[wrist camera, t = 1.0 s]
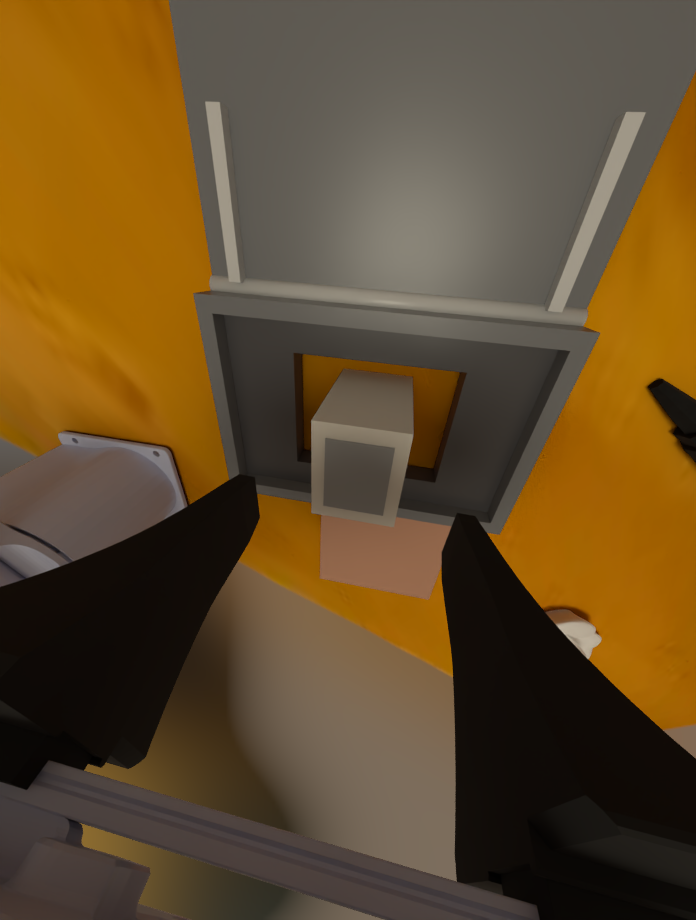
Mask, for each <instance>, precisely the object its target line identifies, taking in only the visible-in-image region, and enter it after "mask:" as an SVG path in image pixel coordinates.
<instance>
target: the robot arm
mask: <svg viewBox="0 0 696 920" xmlns="http://www.w3.org/2000/svg"><path fill="white" fill-rule="evenodd" d="M58 437H59V439H60V441H61V443H62V445H60V446H58V447H56V448H54V449H53V450H51V451H49V452H47V453H45V454H43V455H41V456H39V457H37V458H35V459H34V460H32V461H30V462H28V463H26V464H24V465H22V466H20V467H18V468H17V469H14V470H13V471H11V472H9V473H7V474H5V475H3V476H1V477H0V920H191V919H187V918H184V917H181V916H177V915H174V914H170V913H167V912H164V911H161V910H158V909H154V908H151V907H148V906H144V905H141V904H138V902H139V899H140V897H141V894H142V892H143V890H144V887H145V885H146V883H147V880H148V878H149V876H150V868H149V867H146V866H143V865H140V864H138V863H135V862H132V861H129V860H126V859H123V858H120V857H117V856H114V855H111V854H107V853H104V852H101V851H97V850H93V849H90V848H86V847H84V846H83V845H82V843H81V839H82V835H83V828H82V825H81V824H80V823H82V824H85V825H88V826H91V827H95V828H98V829H101V830H104V831H107V832H111V833H113V834H117V835H120V836H123V837H126V838H129V839H132V840H135V841H139V842H142V843H145V844H148V845H151V846H155V847H157V848H161V849H164V850H167V851H170V852H173V853H176V854H180V855H183V856H186V857H189V858H192V859H196V860H198V861H202V862H205V863H208V864H211V865H214V866H217V867H221V868H224V869H227V870H230V871H234V872H236V873H240V874H243V875H246V876H249V877H252V878H255V879H258V880H262V881H265V882H268V883H271V884H274V885H278V886H280V887H283V888H287V889H290V890H293V891H296V892H300V893H302V894H306V895H309V896H312V897H315V898H318V899H321V900H324V901H328V902H331V903H334V904H337V905H340V906H343V907H347V908H350V909H353V910H356V911H359V912H362V913H365V914H369V915H372V916H375V917H378V918H381V919H385V920H696V759H695V758H694V757H693V756H692V755H691V754H690V753H688V752H687V751H686V750H685V749H684V748H682V747H681V746H680V745H679V744H678V743H676V742H675V741H674V740H673V739H672V738H671V737H669V735H667V734H666V733H665V732H664V731H663V730H662V729H661V728H660V727H659V726H657V725H656V724H655V723H654V722H653V721H652V720H651V719H650V718H649V717H648V716H646V715H645V714H644V713H643V712H642V711H641V710H640V709H639V708H638V707H637V706H636V705H634V704H633V703H632V702H631V701H630V700H629V699H628V698H627V697H626V696H625V695H624V694H623V693H622V692H621V691H620V690H619V689H617V688H616V687H615V686H614V685H613V684H612V683H611V682H610V681H609V680H608V679H607V678H606V677H605V676H604V675H603V674H602V673H601V672H600V671H599V670H598V669H597V668H596V667H595V666H594V665H593V664H592V663H591V662H590V661H589V660H588V659H587V658H586V657H585V656H584V655H583V654H582V653H581V652H580V650H579V649H578V648H577V647H576V646H575V645H574V644H573V643H572V642H571V641H570V640H569V639H568V638H567V637H566V635H565V634H564V633H563V632H562V631H561V630H560V629H559V628H558V626H557V625H556V624H555V623H554V622H553V621H552V620H551V619H550V618H549V616H548V615H547V614H546V613H545V612H544V610H543V609H542V608H541V607H540V606H539V604H538V603H537V602H536V601H535V599H534V598H533V597H532V596H531V594H530V593H529V592H528V591H527V589H526V588H525V587H524V586H523V584H522V583H521V582H520V580H519V579H518V578H517V576H516V575H515V573H514V572H513V571H512V569H511V568H510V566H509V565H508V564H507V562H506V561H505V559H504V558H503V557H502V555H501V554H500V552H499V551H498V549H497V548H496V546H495V545H494V543H493V542H492V540H491V539H490V537H489V536H488V534H487V533H486V531H485V530H484V528H483V527H482V525H481V524H480V522H479V521H478V519H477V518H476V516H472V515H467V514H461V513H457V514H456V516H455V519H454V521H453V524H452V527H451V529H450V532H449V534H448V537H447V540H446V542H445V545H444V547H443V550H442V586H443V593H444V601H445V608H446V615H447V623H448V630H449V637H450V644H451V653H452V663H453V682H454V683H453V684H454V710H455V754H456V756H455V757H456V758H455V760H456V813H455V816H456V817H455V819H456V821H455V827H456V828H455V862H456V875H457V882H456V881H453V880H449V879H446V878H443V877H439V876H436V875H432V874H429V873H426V872H422V871H419V870H416V869H412V868H409V867H405V866H402V865H399V864H396V863H392V862H389V861H385V860H382V859H379V858H375V857H372V856H369V855H365V854H362V853H358V852H355V851H352V850H349V849H345V848H342V847H338V846H335V845H332V844H328V843H325V842H321V841H318V840H315V839H312V838H308V837H305V836H301V835H298V834H295V833H291V832H288V831H284V830H281V829H278V828H275V827H271V826H268V825H264V824H261V823H258V822H254V821H251V820H248V819H244V818H241V817H238V816H234V815H231V814H228V813H224V812H221V811H218V810H214V809H211V808H207V807H204V806H201V805H197V804H194V803H191V802H187V801H183V800H181V799H177V798H174V797H171V796H167V795H164V794H160V793H157V792H153V791H150V790H147V789H144V788H140V787H137V786H133V785H130V784H127V783H123V782H120V781H117V780H113V779H110V778H106V777H103V776H100V775H96V774H93V773H90V772H87V771H84V769H85V768H86V766H87V764H90V765H94V766H98V767H102V766H103V765H104V764H105V763H106V762H107V763H110V764H113V765H117V766H120V767H124V768H127V769H129V768H131V767H133V766H135V765H136V764H138V763H139V762H140V761H142V760H143V759H144V758H145V757H146V755H147V752H148V749H149V747H150V744H151V741H152V739H153V736H154V734H155V731H156V729H157V726H158V724H159V721H160V719H161V716H162V714H163V711H164V709H165V706H166V704H167V701H168V699H169V697H170V694H171V692H172V690H173V687H174V685H175V683H176V680H177V678H178V676H179V673H180V671H181V669H182V666H183V664H184V662H185V660H186V658H187V655H188V653H189V651H190V649H191V646H192V644H193V642H194V640H195V638H196V636H197V634H198V632H199V629H200V627H201V625H202V623H203V621H204V619H205V617H206V615H207V613H208V611H209V609H210V607H211V605H212V603H213V602H214V600H215V598H216V596H217V594H218V593H219V591H220V589H221V588H222V586H223V585H224V583H225V581H226V580H227V578H228V576H229V574H230V573H231V571H232V570H233V568H234V567H235V565H236V563H237V562H238V560H239V558H240V557H241V555H242V553H243V552H244V550H245V548H246V546H247V545H248V543H249V541H250V539H251V537H252V534H253V532H254V530H255V528H256V525H257V523H258V521H259V518H260V515H259V507H258V498H257V490H256V481H255V477H252V476H247V475H241V474H239V475H237V476H235V477H233V478H232V479H230V480H229V481H227V482H225V483H224V484H222V485H221V486H219V487H218V488H216V489H214V490H213V491H211V492H210V493H208V494H206V495H205V496H203V497H202V498H200V499H198V500H197V501H195V502H194V503H192V504H190V505H189V506H188V505H187V502H186V499H185V496H184V493H183V489H182V486H181V483H180V480H179V477H178V473H177V470H176V467H175V464H174V460H173V457H172V454H171V452H170V450H169V449H167V448H165V447H161V446H155V445H148V444H142V443H136V442H129V441H123V440H117V439H110V438H104V437H98V436H91V435H85V434H79V433H72V432H66V431H63V432H61V433H59V434H58Z"/></svg>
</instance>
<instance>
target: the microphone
mask: <svg viewBox="0 0 696 920" xmlns="http://www.w3.org/2000/svg"><path fill="white" fill-rule="evenodd" d="M649 388H650V390H651V391H652V393H653V394H654V396H655V397H656V398H657V400H658V401H659V403H660V404H661V405H662V407H663V408H664V410H665V411H666V412H667V414H668V415H669V417H670V418H671V419H672V420H673V422H674V423H675V424H676V425H677V428H676V429H675V431H674V433H673V434H674V435H675V436H676V437H677V438H678V439H679V440H680V442H681V444H682V446H683V449H684V450H685V451H686V452H687V453H688V454H689V455H690V456H691V458H692V459H693V460H694V461H695V462H696V400H695V399H693V398H692V397H690V396H689V395H687V394H685V393H684V392H682V391H681V390H679V389H677V388H676V387H674V386H673V385H671V384H670V383H668V382H666V381H665V380H663V379H660V380H656V381H654V382H653V383H652V384H650V385H649Z"/></svg>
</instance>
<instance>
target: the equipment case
mask: <svg viewBox="0 0 696 920" xmlns="http://www.w3.org/2000/svg"><path fill="white" fill-rule="evenodd" d="M169 5H170V11H171V17H172V23H173V30H174V36H175V42H176V49H177V55H178V61H179V68H180V74H181V80H182V87H183V93H184V99H185V105H186V112H187V118H188V124H189V131H190V137H191V143H192V150H193V156H194V162H195V168H196V175H197V181H198V187H199V194H200V200H201V206H202V213H203V219H204V225H205V232H206V238H207V244H208V250H209V257H210V263H211V269H212V275H211V277H210V289H211V291H205V292H199V293H193V294H194V299H195V304H196V310H197V315H198V320H199V325H200V330H201V335H202V340H203V346H204V351H205V356H206V361H207V366H208V371H209V376H210V382H211V387H212V392H213V397H214V402H215V407H216V412H217V418H218V423H219V428H220V433H221V438H222V443H223V449H224V454H225V459H226V464H227V469H228V474H229V479H232V478H233V477H235V476H237V475H239V474H241V475H247V476H252V477H255V481H256V490H257V493H258V494H263V495H269V496H275V497H281V498H287V499H293V500H299V501H305V502H311V451H309V450H304V433H303V381H302V354H309V355H318V356H326V357H335V358H343V359H352V360H361V361H369V362H378V363H386V364H395V365H404V366H412V367H421V368H430V369H438V370H447V371H455V372H460V376H459V380H458V383H457V387H456V391H455V394H454V398H453V401H452V405H451V409H450V412H449V416H448V419H447V423H446V427H445V430H444V434H443V438H442V441H441V445H440V448H439V452H438V456H437V459H436V463H435V466H434V469H429V468H422V467H415V466H409V465H407V468H406V473H405V477H404V482H403V487H402V492H401V496H400V501H399V506H398V510H397V515H396V517H399V518H405V519H411V520H416V521H422V522H428V523H434V524H440V525H446V526H452V524H453V521H454V519H455V516H456V514H457V513H461V514H467V515H472V516H476V518H477V519H478V521H479V522H480V524H481V525H482V527H483V528H484V530H485V531H486V532H487V533H493V534H500V532H501V530H502V529H503V527H504V525H505V523H506V521H507V519H508V517H509V515H510V513H511V511H512V509H513V507H514V505H515V503H516V501H517V499H518V497H519V495H520V493H521V491H522V489H523V487H524V485H525V483H526V481H527V479H528V477H529V475H530V473H531V471H532V469H533V467H534V465H535V463H536V461H537V459H538V457H539V455H540V453H541V451H542V449H543V447H544V445H545V443H546V441H547V439H548V437H549V435H550V433H551V431H552V429H553V427H554V425H555V423H556V421H557V419H558V417H559V415H560V413H561V411H562V409H563V407H564V405H565V403H566V401H567V399H568V397H569V395H570V393H571V391H572V389H573V387H574V385H575V383H576V381H577V379H578V377H579V375H580V373H581V371H582V369H583V367H584V365H585V363H586V361H587V359H588V357H589V355H590V353H591V351H592V349H593V347H594V345H595V343H596V341H597V339H598V337H599V335H600V333H599V332H596V331H594V330H591V329H588V328H586V327H583V325H584V324H585V322H586V319H587V316H588V310H587V307H588V305H589V303H590V300H591V298H592V296H593V294H594V292H595V289H596V287H597V285H598V283H599V281H600V279H601V276H602V274H603V272H604V270H605V268H606V265H607V263H608V261H609V259H610V257H611V254H612V252H613V250H614V248H615V246H616V244H617V241H618V239H619V237H620V235H621V233H622V230H623V228H624V226H625V224H626V222H627V220H628V217H629V215H630V213H631V211H632V209H633V206H634V204H635V202H636V200H637V198H638V195H639V193H640V191H641V189H642V187H643V185H644V182H645V180H646V178H647V176H648V174H649V171H650V169H651V167H652V165H653V163H654V161H655V158H656V156H657V154H658V152H659V150H660V147H661V145H662V143H663V141H664V139H665V137H666V134H667V132H668V130H669V128H670V126H671V123H672V121H673V119H674V117H675V115H676V112H677V110H678V108H679V106H680V104H681V102H682V99H683V97H684V95H685V93H686V91H687V88H688V86H689V84H690V82H691V80H692V78H693V75H694V73H695V71H696V0H169Z"/></svg>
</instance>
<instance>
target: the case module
mask: <svg viewBox="0 0 696 920" xmlns="http://www.w3.org/2000/svg"><path fill="white" fill-rule="evenodd" d="M413 435H414V424H413V377H411V376H403V375H394V374H386V373H378V372H369V371H361V370H353V369H343V371H342V372H341V374H340V375H339V377H338V379H337V380H336V382H335V383H334V385H333V386H332V388H331V390H330V391H329V393H328V394H327V396H326V398H325V399H324V401H323V402H322V404H321V406H320V407H319V409H318V410H317V412H316V414H315V415H314V417H313V418H312V420H311V504H312V513H314V514H320V515H326V516H331V517H337V518H343V519H349V520H354V521H360V522H366V523H372V524H377V525H383V526H389V527H394V524H395V520H396V515H397V510H398V506H399V501H400V496H401V492H402V487H403V482H404V477H405V473H406V468H407V463H408V459H409V454H410V449H411V445H412V440H413Z"/></svg>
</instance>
